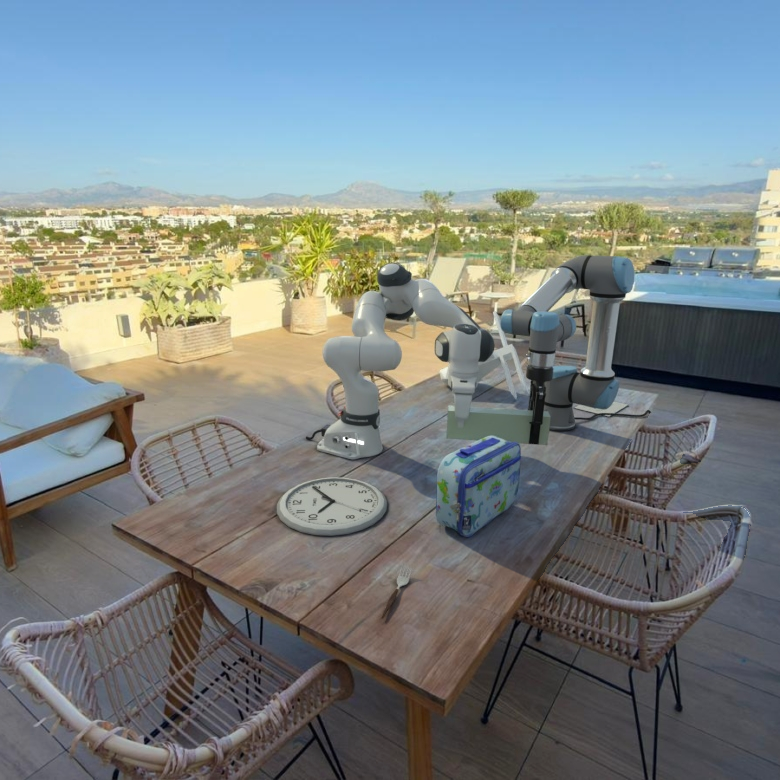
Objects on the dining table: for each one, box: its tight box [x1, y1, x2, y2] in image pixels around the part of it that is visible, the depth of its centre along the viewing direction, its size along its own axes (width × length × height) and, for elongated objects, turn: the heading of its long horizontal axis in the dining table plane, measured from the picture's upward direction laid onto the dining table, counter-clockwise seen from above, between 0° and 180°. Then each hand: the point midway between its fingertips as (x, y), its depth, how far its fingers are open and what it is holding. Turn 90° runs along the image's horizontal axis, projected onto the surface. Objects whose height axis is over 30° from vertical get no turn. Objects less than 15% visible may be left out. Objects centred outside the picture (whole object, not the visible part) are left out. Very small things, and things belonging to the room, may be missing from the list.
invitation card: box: [573, 401, 629, 418], centre depth 226 cm, size 21×1×15 cm
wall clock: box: [276, 476, 388, 537], centre depth 142 cm, size 30×2×30 cm
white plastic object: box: [438, 310, 530, 400], centre depth 245 cm, size 37×45×31 cm
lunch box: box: [435, 436, 522, 538], centre depth 134 cm, size 26×11×21 cm, turn 134°
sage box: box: [445, 405, 550, 446], centre depth 158 cm, size 30×5×9 cm, turn 83°
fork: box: [381, 564, 413, 619], centre depth 108 cm, size 3×16×2 cm, turn 160°
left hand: (460, 423), depth 160 cm, fingers closed on sage box, 5 cm apart
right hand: (532, 439), depth 158 cm, fingers closed on sage box, 5 cm apart
